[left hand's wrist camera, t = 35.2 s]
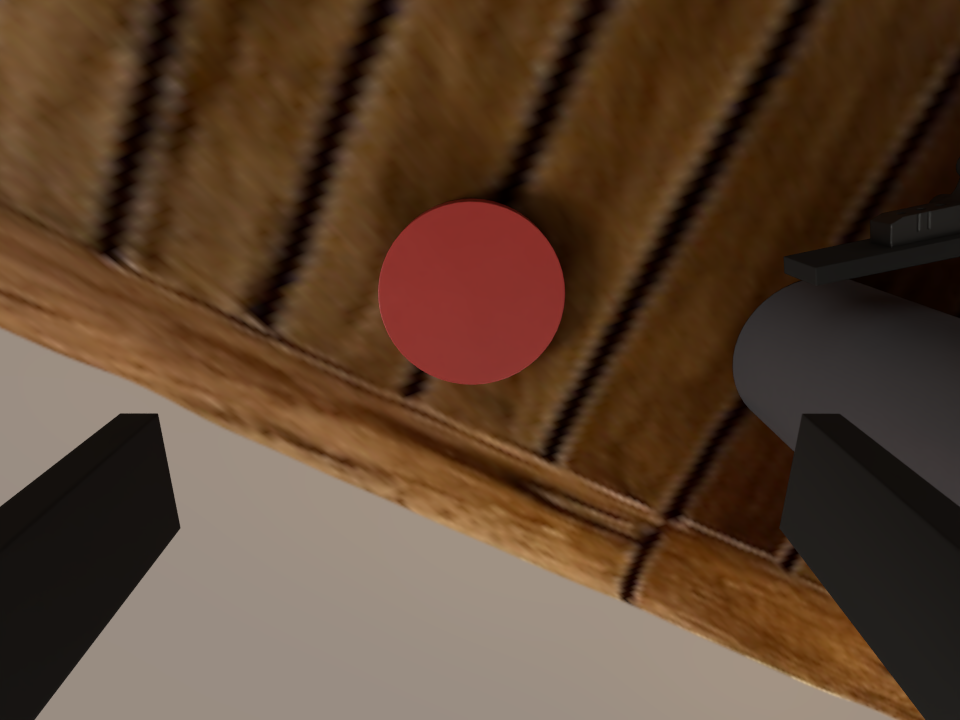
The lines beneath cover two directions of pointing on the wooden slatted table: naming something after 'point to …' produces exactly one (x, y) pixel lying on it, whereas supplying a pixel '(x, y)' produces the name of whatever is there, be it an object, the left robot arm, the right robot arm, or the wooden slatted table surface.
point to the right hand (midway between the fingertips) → (804, 411)
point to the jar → (858, 371)
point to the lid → (471, 291)
